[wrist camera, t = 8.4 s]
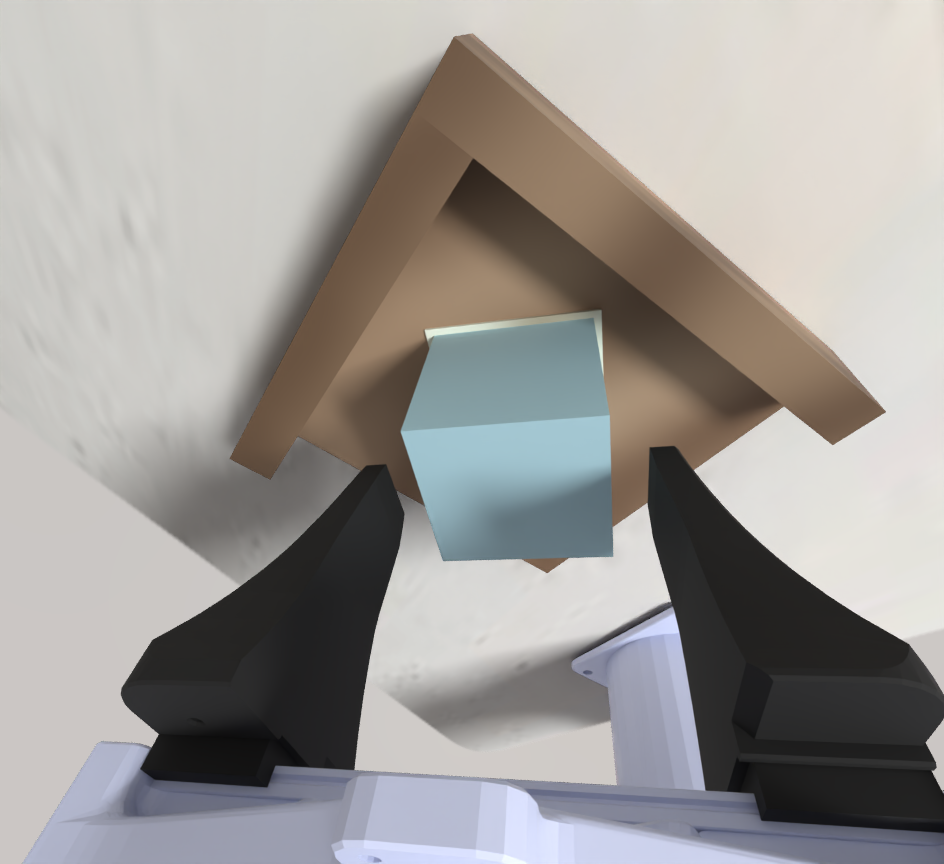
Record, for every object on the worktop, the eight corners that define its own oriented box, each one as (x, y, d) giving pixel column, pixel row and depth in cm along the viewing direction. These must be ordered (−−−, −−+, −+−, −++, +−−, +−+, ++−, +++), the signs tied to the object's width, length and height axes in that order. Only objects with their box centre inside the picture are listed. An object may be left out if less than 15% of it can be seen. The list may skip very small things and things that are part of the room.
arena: (832, 350, 17) (885, 411, 14) (547, 558, 24) (547, 622, 22) (472, 33, 13) (453, 36, 10) (269, 403, 20) (229, 458, 18)
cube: (593, 317, 16) (609, 415, 12) (598, 445, 19) (613, 556, 15) (434, 335, 17) (400, 431, 13) (463, 453, 20) (442, 561, 16)
